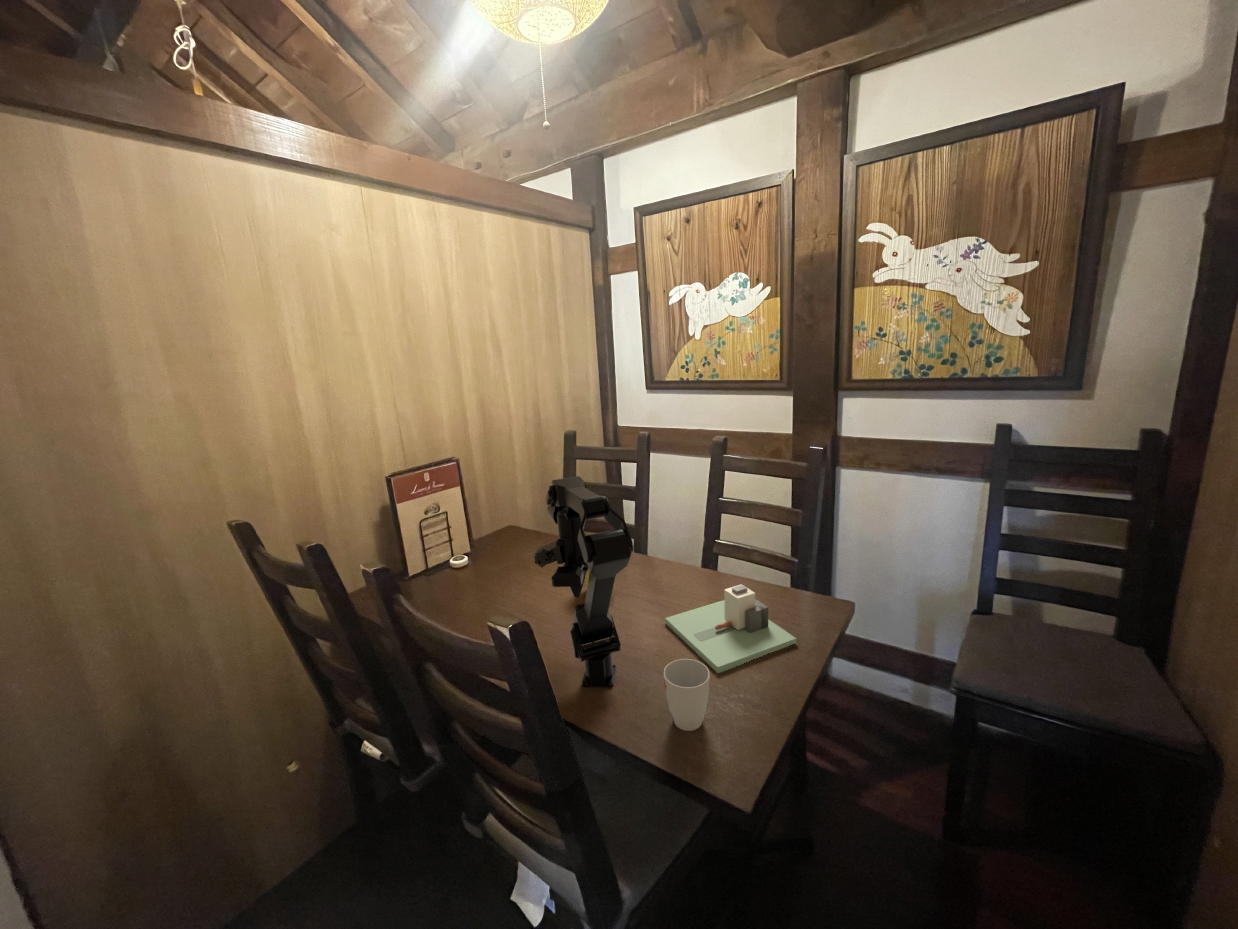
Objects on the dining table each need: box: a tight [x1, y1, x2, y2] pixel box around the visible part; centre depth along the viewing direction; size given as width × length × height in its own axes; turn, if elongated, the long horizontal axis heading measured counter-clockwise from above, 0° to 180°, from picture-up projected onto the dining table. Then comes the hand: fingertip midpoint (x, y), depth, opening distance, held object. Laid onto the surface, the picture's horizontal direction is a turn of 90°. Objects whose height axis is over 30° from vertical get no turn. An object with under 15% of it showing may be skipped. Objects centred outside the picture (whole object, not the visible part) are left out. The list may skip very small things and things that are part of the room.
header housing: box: [746, 598, 769, 633], centre depth 118 cm, size 5×9×5 cm, turn 24°
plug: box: [715, 584, 756, 630], centre depth 116 cm, size 9×5×9 cm, turn 114°
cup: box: [663, 658, 710, 732], centre depth 90 cm, size 8×8×10 cm
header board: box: [664, 599, 797, 674], centre depth 117 cm, size 21×22×2 cm
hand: (577, 596), depth 114 cm, fingers closed
